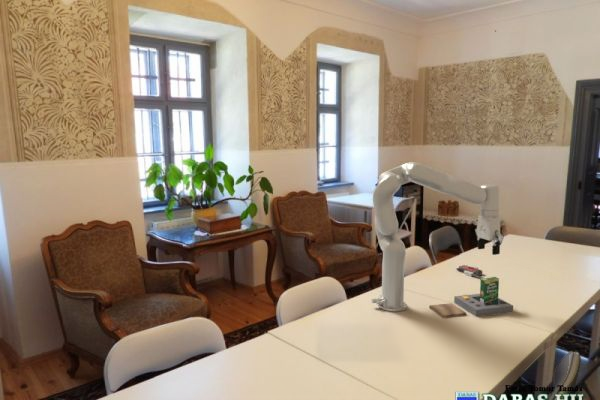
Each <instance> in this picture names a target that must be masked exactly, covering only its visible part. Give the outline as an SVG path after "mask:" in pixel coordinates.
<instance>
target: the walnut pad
mask: <svg viewBox="0 0 600 400" xmlns="http://www.w3.org/2000/svg"><path fill="white" fill-rule="evenodd" d="M428 308H429V309H430V310H431V311H433V312H434V313H436V314H437V315H438V316H440V317H441V318H443V319H444V318H450V317H460V316H462V317H463V316H466V315H467V312H466V311H464V309H463V310H462V309H461V307H458V305H457V306H456V304H454V303H452V302H451V303H450V302H449V303H440V304H434V305H433V304H432V305H429V307H428Z"/></svg>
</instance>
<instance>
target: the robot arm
mask: <svg viewBox="0 0 600 400" xmlns="http://www.w3.org/2000/svg"><path fill="white" fill-rule="evenodd" d="M410 182H412V183H414V184H416V185H419V186H423V187H425V188H427V189H429V190H433V191H436V192H438V193H440V194H444V195H448V196H452V197H454V198H457V199H460V200H463V201H466V202H468V203H470V204H473V205H479V215H478V216H477V217H478V218H477V224H476V228H475V229H474V231H475V237H476V240H477V250H484V249H486V241H489V242H492V249H491V252H492V253H491V254H492V255H494V256H496V255H500V252H501V251H500V250H501V249H500V248H501V247H500V246H501V245H502V243H503V241H504V240H505V239H504V238H505V237H504V236H503V234H501V222H500V217H499V215H500V186H499V185H497V184H493V183H492V184H491V183H490V184H489V183H487V184H474V183H471V182H469V181H466V180H462V179H461V178H458V177H456V176H453V175H452V174H449V173H447V172H444V171H441V170H439V169H435V168H433V167H430V166H428V165H426V164H425V165H424V164H422V163H419V162H414V161H409V162H406V163H404V164H401V165H399V166H396V167H394V168H391V169H389V170H386V171H384V172H382V173H381V174H380V175H379V177H378V179H377V183H378V184H377V185H376V186H375V189H374V190H373V193H372V205H373V210H374V214H375V217H374V220H373V222H374V223H373V224H374V228H375V232H376V237H377V240H378V244H379V247H380V250H381V251H382V264H381V295H379V297H377V298H372V299H371V304H376V305H378V307H379V308H380V309H382V310H384V311H387V312H402V311H405V310H406V309H407V307H408V303H407V302H405V301H404V298H405V296H404V295H405V294H404V293H405V289H404V288H405V261H406V254H407V249H406V245H405V243H404V241H403V240H402V239H401V238H400V236H399V234H398V230H399V221H398V218H397V214H396V210H395V206H394V195H395V194H396V193H397V192H398V191H399V190H400V188H401V186H402V185H405V184H408V183H410Z"/></svg>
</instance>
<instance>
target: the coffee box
mask: <svg viewBox="0 0 600 400" xmlns="http://www.w3.org/2000/svg"><path fill="white" fill-rule="evenodd" d="M483 278H484V279H480V289H479V292H480V293H479V294H480V303H482V304H484V305H486V306H489V305H498V298H499V287H500V278H499V277H497V276H491V277H486V278H485V277H483Z"/></svg>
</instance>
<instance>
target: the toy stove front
mask: <svg viewBox="0 0 600 400" xmlns="http://www.w3.org/2000/svg"><path fill="white" fill-rule="evenodd" d="M453 304H454V305H457V306H459V308H462V309H463V310H465V312H466V311H467V312H468V313H470V314H471V315H473V316H474V317H485V316H494V315H503V314H511V313H514V305H513V304H511V303H509V302H507V301H506V300H504V299H502V298H500V297H498V305H489V306H486V305H484V304H482V303H480V293H473V294H465V295H464V294H463V295H457V296H456V295H454V299H453Z"/></svg>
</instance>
